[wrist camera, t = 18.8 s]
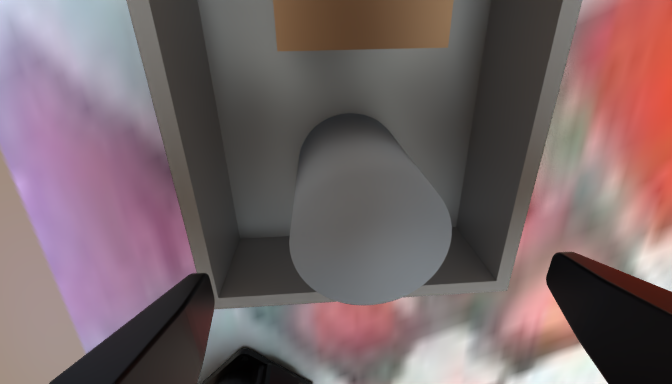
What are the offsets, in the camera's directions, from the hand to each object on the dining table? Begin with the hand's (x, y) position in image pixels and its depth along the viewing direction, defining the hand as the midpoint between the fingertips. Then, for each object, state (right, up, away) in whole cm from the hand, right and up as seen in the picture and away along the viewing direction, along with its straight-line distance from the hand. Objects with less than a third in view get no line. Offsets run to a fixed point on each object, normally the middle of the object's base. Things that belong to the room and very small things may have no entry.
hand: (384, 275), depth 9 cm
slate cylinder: (-1, +4, +8) cm, 9 cm away
